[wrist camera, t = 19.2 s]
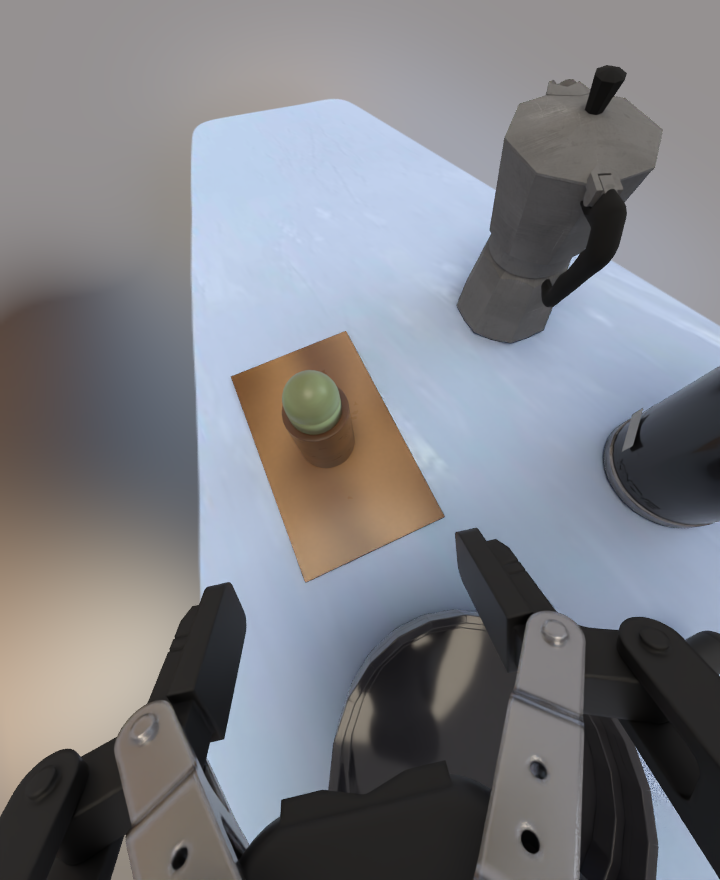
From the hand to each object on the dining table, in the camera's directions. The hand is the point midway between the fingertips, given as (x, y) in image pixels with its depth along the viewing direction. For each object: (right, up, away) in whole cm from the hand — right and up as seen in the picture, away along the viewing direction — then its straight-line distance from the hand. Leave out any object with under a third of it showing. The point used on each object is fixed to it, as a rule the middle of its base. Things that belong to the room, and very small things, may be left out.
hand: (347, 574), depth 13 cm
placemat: (-2, +5, +19) cm, 20 cm away
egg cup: (-2, +5, +19) cm, 19 cm away
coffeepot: (+15, +17, +23) cm, 32 cm away
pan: (+7, -16, +11) cm, 20 cm away
